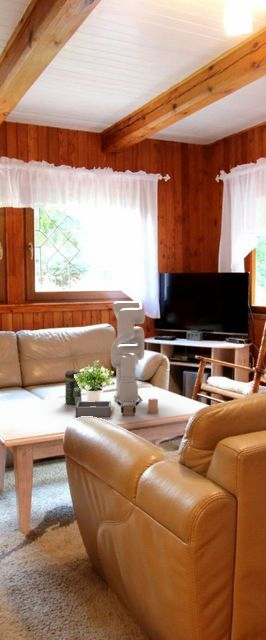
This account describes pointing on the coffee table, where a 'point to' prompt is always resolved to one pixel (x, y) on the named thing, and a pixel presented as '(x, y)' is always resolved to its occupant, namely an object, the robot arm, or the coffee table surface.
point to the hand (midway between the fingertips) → (128, 413)
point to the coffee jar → (72, 388)
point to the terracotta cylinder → (152, 406)
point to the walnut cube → (128, 409)
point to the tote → (93, 408)
